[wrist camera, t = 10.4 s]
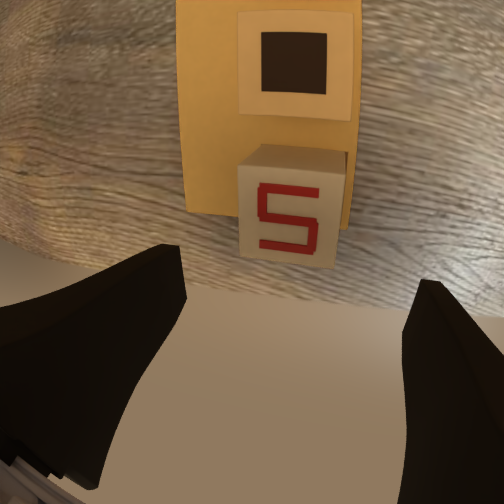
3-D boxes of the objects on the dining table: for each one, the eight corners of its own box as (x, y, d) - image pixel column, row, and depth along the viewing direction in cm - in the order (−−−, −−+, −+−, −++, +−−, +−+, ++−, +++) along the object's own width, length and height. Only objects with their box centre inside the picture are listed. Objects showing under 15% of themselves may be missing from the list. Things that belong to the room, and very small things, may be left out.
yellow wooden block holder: (347, 228, 17) (346, 276, 13) (190, 210, 19) (149, 248, 15) (345, -136, 5) (340, -180, 1) (186, -121, 7) (146, -152, 3)
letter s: (337, 227, 16) (333, 271, 13) (261, 218, 17) (238, 258, 14) (345, 151, 14) (345, 175, 11) (261, 144, 15) (235, 165, 12)
